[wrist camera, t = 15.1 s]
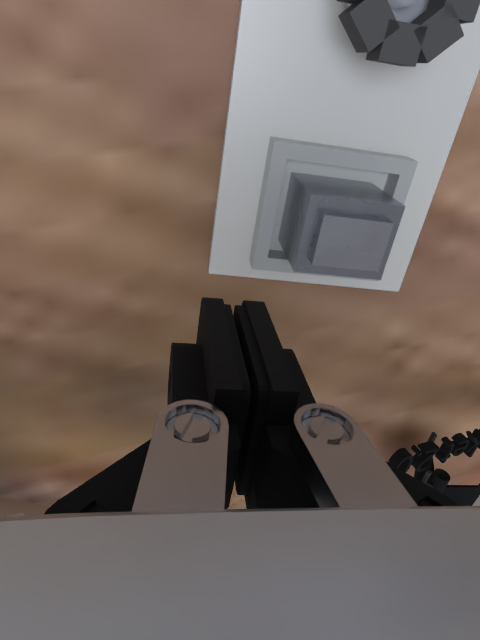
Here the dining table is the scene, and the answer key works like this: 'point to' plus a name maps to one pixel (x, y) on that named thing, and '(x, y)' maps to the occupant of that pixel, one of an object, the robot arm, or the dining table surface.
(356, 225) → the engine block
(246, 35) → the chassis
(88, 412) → the dining table surface
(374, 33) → the wheel
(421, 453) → the rocket toy
